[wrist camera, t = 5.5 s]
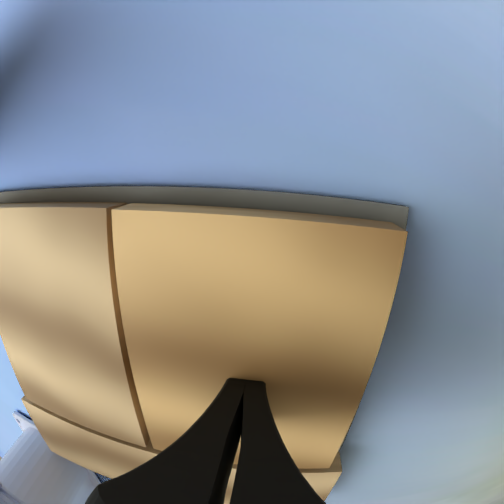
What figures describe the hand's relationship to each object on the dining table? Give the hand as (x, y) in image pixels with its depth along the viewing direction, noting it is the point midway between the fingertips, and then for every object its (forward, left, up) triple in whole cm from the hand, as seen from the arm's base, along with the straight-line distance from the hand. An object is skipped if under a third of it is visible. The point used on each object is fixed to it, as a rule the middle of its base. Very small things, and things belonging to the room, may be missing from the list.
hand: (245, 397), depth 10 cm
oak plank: (+1, 0, -1) cm, 2 cm away
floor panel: (-2, +5, -2) cm, 6 cm away
